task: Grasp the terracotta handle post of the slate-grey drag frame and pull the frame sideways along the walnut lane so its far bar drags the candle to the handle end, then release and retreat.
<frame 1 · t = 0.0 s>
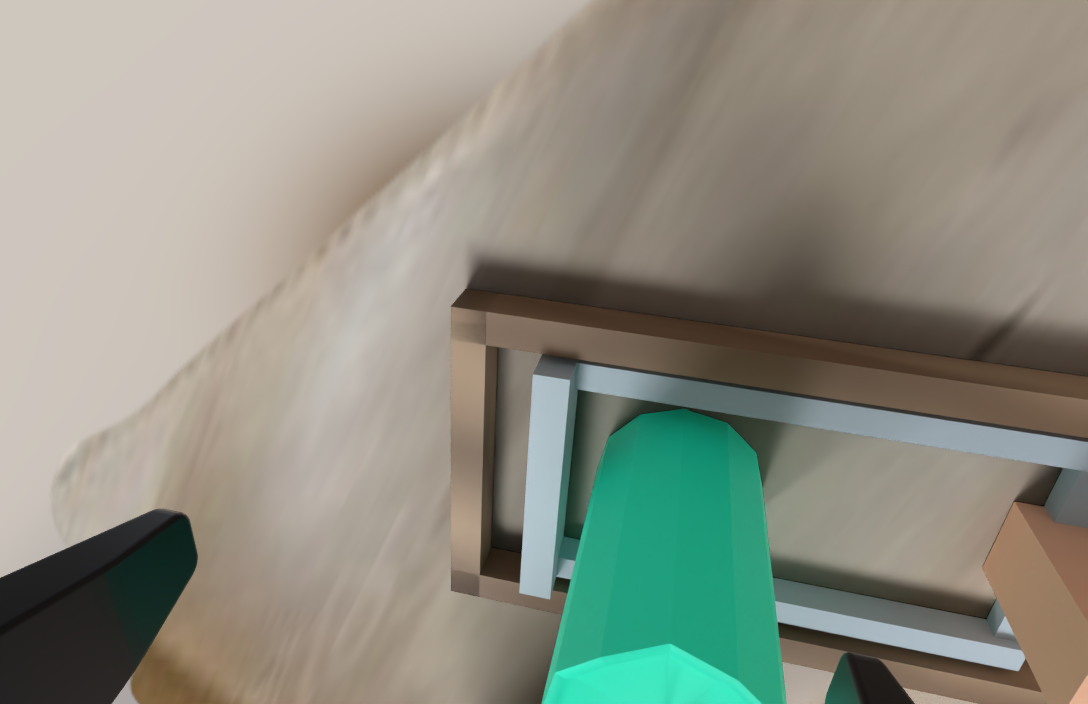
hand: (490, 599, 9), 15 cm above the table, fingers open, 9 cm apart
frame: (811, 559, 22), point 3 cm above the table, slide at 0.0 cm
candle: (678, 475, 26), resting in frame
lane: (798, 500, 25), on the table
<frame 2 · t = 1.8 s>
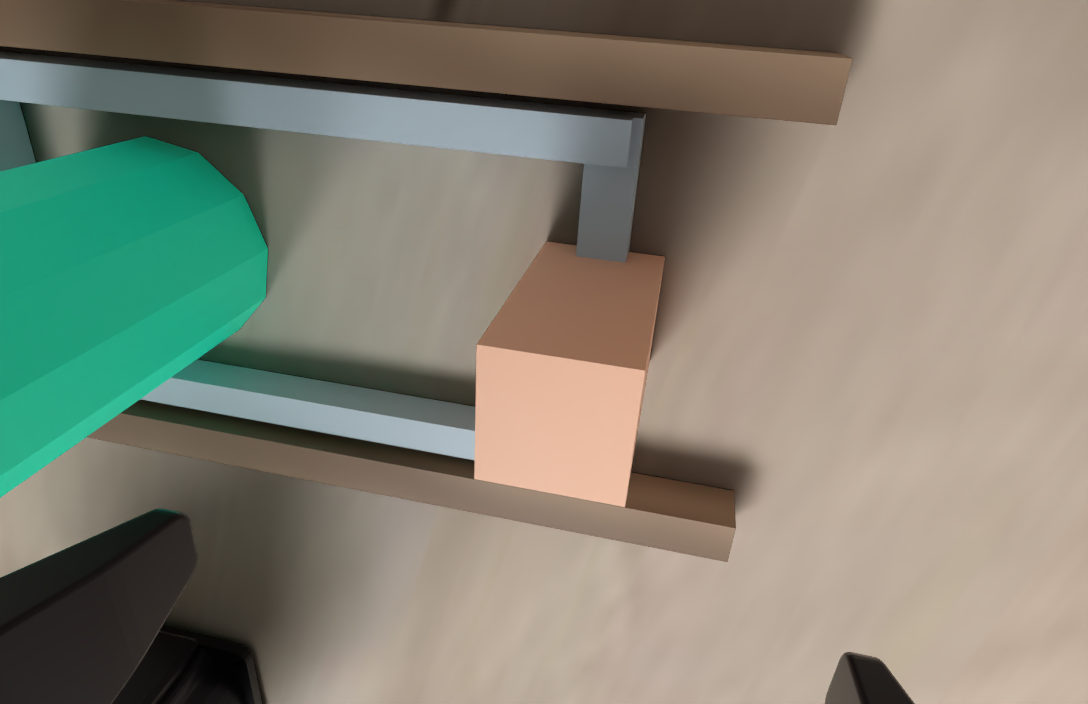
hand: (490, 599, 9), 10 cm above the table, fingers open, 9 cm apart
frame: (250, 304, 17), point 3 cm above the table, slide at 0.0 cm
candle: (179, 241, 20), resting in frame
lane: (311, 263, 19), on the table
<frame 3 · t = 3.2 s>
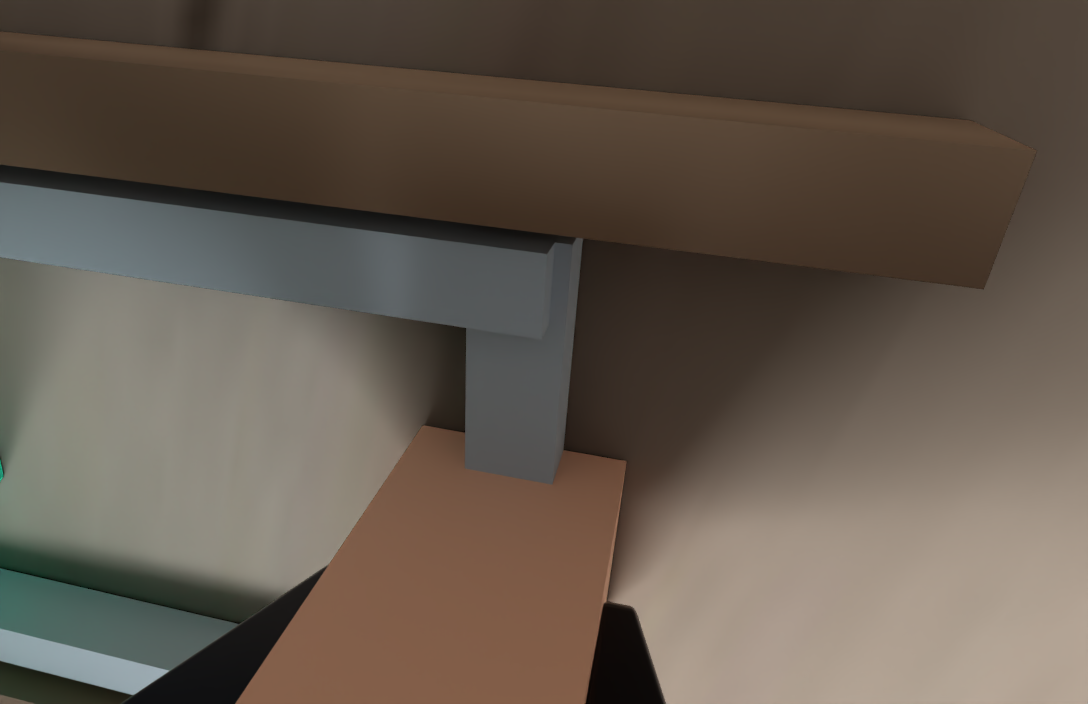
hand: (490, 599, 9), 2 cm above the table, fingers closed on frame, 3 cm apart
lane: (58, 433, 12), on the table
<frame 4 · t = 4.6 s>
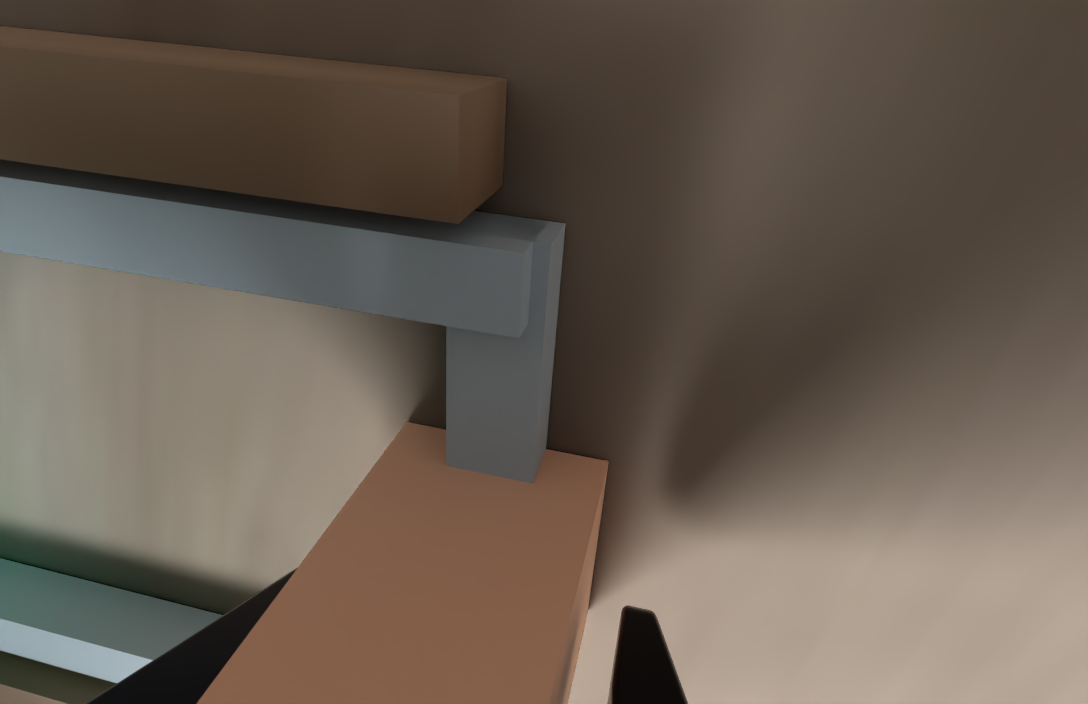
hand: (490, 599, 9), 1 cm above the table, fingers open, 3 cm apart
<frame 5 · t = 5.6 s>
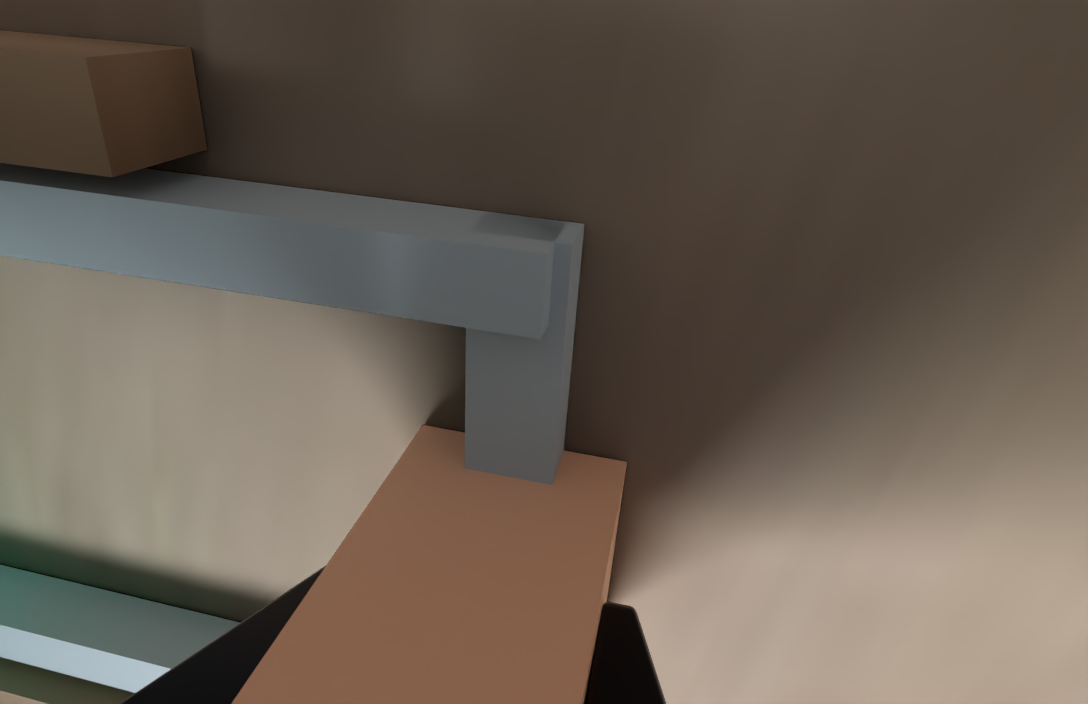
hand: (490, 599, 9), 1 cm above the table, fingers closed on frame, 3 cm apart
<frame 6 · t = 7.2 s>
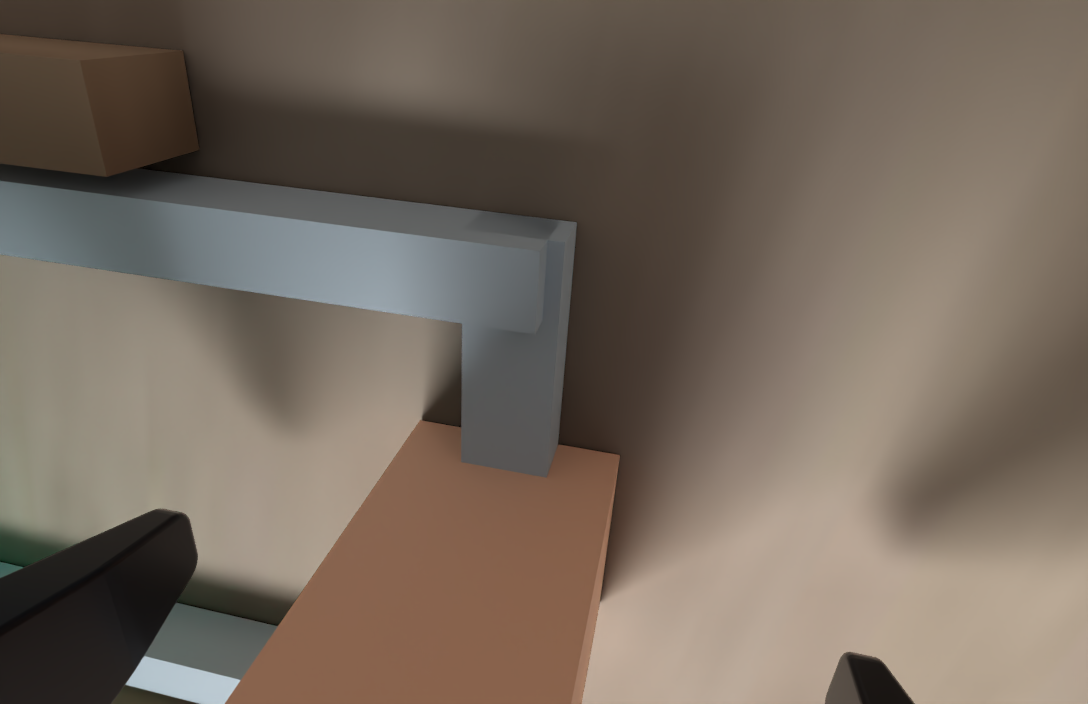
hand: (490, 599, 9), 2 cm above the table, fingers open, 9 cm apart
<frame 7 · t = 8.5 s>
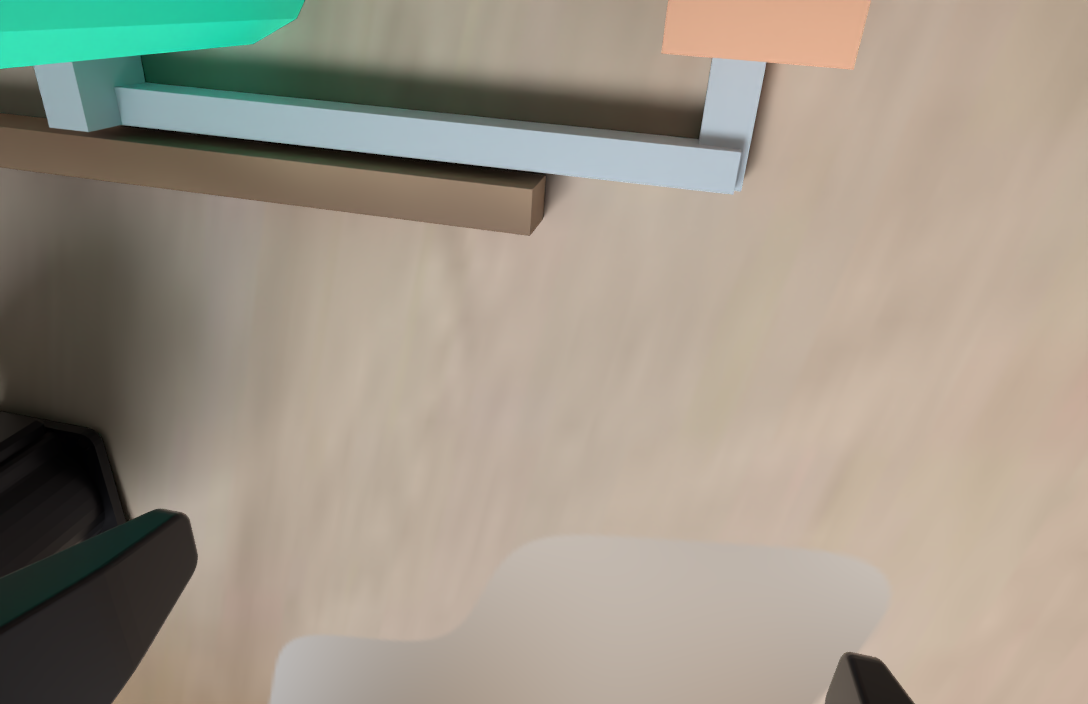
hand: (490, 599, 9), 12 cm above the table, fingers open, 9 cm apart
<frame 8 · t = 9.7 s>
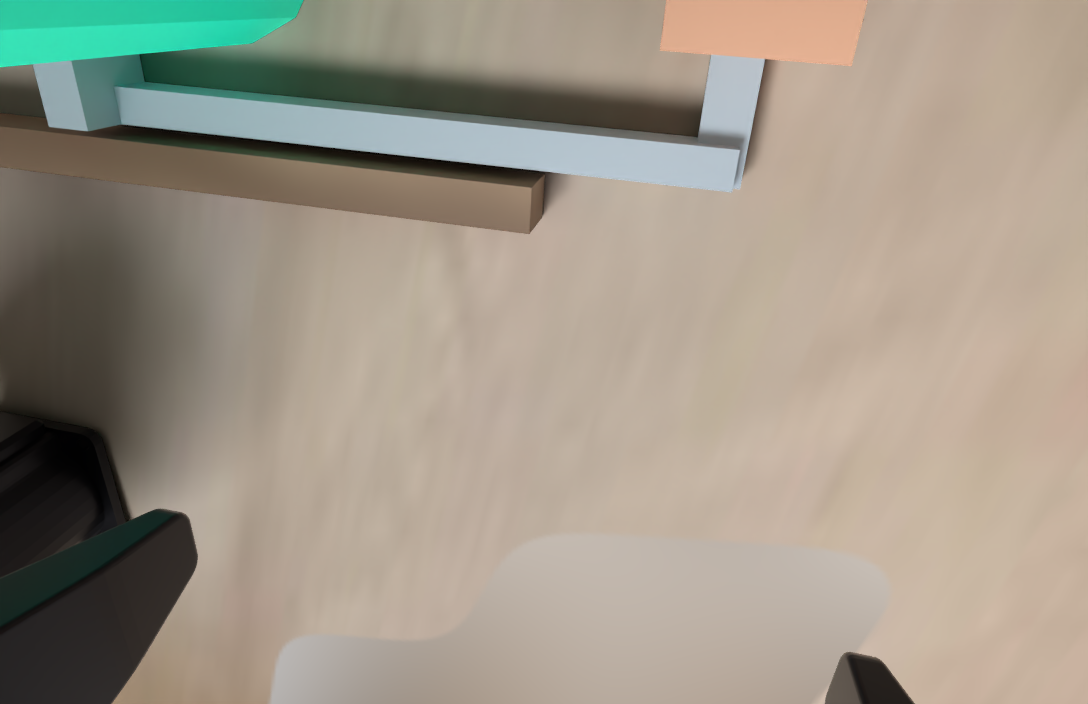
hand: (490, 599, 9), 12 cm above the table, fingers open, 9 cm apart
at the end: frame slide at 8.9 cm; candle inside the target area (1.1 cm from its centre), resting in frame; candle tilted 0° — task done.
